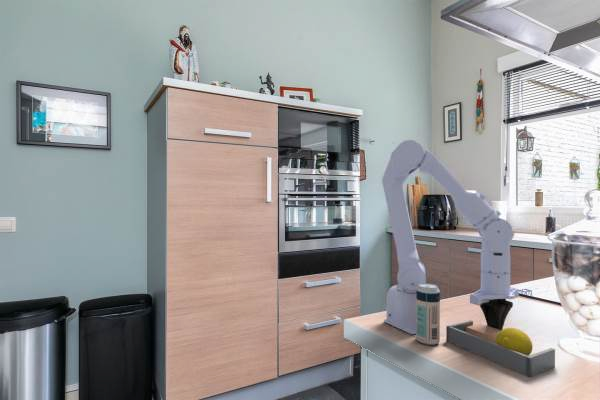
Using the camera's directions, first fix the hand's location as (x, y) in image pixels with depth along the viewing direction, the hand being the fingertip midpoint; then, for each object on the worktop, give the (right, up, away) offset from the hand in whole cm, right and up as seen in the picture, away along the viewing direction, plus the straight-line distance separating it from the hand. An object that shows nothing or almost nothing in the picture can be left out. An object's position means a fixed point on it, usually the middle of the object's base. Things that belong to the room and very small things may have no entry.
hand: (494, 332), depth 76 cm
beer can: (-16, -1, -3) cm, 16 cm away
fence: (-4, -1, -8) cm, 9 cm away
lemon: (+1, +1, -8) cm, 8 cm away
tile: (-3, -1, -1) cm, 4 cm away
